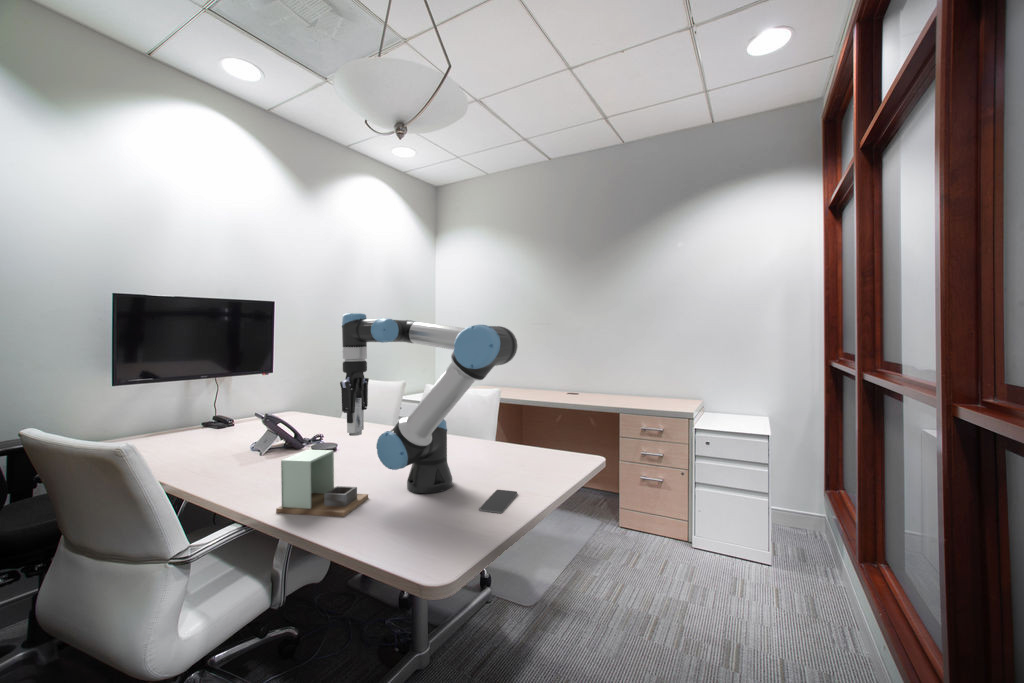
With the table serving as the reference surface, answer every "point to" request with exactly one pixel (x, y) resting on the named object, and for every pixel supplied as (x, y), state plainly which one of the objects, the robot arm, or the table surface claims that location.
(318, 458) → the cover
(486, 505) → the smartphone
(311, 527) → the table surface
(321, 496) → the board
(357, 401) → the stub
